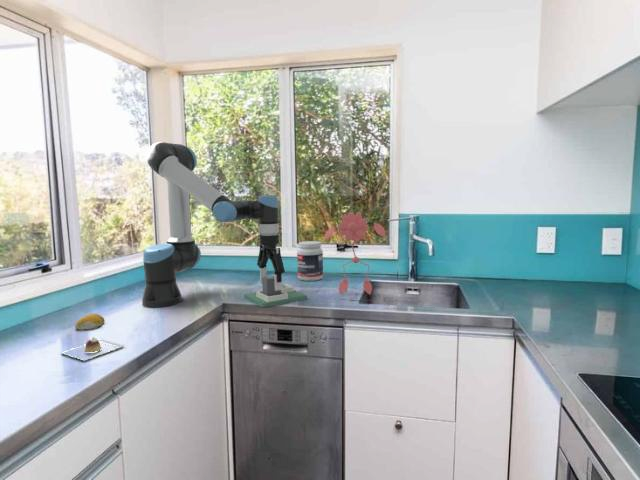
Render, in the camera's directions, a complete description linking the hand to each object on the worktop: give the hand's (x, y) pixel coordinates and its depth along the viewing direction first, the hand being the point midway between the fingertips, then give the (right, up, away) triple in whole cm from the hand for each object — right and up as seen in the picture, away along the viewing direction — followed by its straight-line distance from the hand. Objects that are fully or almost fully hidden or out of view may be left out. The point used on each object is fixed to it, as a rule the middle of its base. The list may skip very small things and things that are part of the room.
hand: (270, 286), depth 165 cm
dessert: (-45, -14, -48) cm, 67 cm away
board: (+1, -5, +5) cm, 7 cm away
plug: (0, -4, 0) cm, 4 cm away
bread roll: (-59, -11, -25) cm, 65 cm away
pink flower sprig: (+34, -5, +5) cm, 35 cm away
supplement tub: (+15, -1, +40) cm, 43 cm away
